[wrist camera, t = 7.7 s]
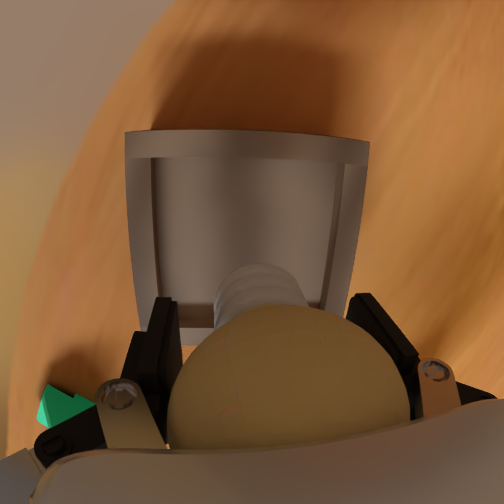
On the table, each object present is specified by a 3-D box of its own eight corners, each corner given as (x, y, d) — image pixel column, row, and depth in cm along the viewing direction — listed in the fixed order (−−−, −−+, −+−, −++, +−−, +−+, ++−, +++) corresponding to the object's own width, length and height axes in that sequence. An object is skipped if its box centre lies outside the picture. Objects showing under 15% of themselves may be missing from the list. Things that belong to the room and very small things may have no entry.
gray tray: (330, 135, 24) (369, 141, 17) (312, 292, 29) (337, 339, 23) (150, 129, 22) (124, 132, 16) (157, 293, 28) (143, 344, 21)
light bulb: (209, 205, 12) (205, 432, 3) (349, 252, 14) (496, 426, 5) (167, 333, 14) (144, 545, 5) (291, 362, 16) (348, 542, 7)
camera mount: (41, 407, 33) (18, 464, 23) (50, 378, 31) (21, 441, 21) (118, 444, 36) (107, 504, 27) (136, 421, 34) (125, 488, 25)
